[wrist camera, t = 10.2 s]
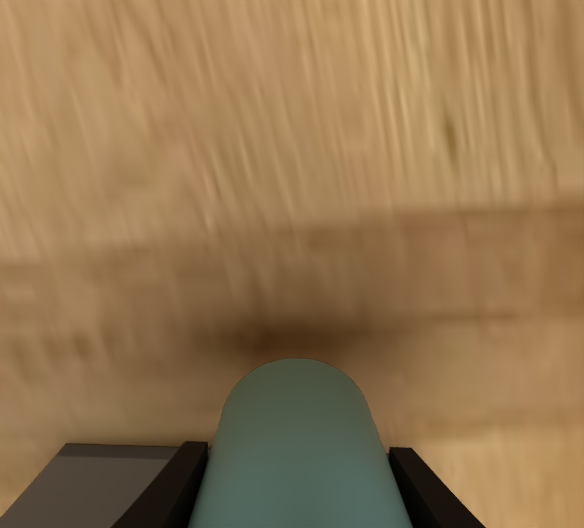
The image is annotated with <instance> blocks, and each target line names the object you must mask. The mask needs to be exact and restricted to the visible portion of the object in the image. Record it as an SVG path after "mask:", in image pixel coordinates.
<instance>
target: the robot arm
mask: <svg viewBox="0 0 584 528" xmlns="http://www.w3.org/2000/svg"><path fill="white" fill-rule="evenodd" d="M207 461H208V442H196V441H185V442H184V443H183V444H182V445H181V446H180V448H179V449H178V450H177V451H176V453H175V454H174V455H173V456H172V458H171V459H170V460H169V461H168V463H167V464H166V465H165V466H164V467H163V469H162V470H161V471H160V472H159V473H158V475H157V476H156V477H155V478H154V479H153V481H152V482H151V483H150V484H149V485H148V486H147V488H146V489H145V490H144V491H143V492H142V493H141V494H140V496H139V497H138V498H137V499H136V500H135V501H134V502H133V503H132V505H131V506H130V507H129V508H128V509H127V510H126V511H125V512H124V513H123V515H122V516H121V517H120V518H119V519H118V520H117V521H116V522H115V523H114V524H113V525H112V526H111V527H110V528H187V527H188V524H189V520H190V517H191V514H192V510H193V507H194V504H195V501H196V497H197V494H198V491H199V487H200V484H201V481H202V478H203V474H204V471H205V468H206V464H207ZM388 461H389V464H390V467H391V469H392V472H393V475H394V478H395V480H396V483H397V486H398V488H399V491H400V494H401V496H402V499H403V502H404V505H405V507H406V510H407V513H408V515H409V518H410V521H411V524H412V526H413V528H486V527H485V526H484V525H483V524H482V523H481V522H480V521H479V520H478V519H477V518H476V517H475V516H474V515H473V514H472V513H471V512H470V511H469V510H468V509H467V508H466V507H465V506H464V505H463V504H462V503H461V502H460V501H459V499H458V498H457V497H456V496H455V495H454V494H453V493H452V492H451V491H450V490H449V489H448V488H447V486H446V485H445V484H444V483H443V482H442V481H441V480H440V479H439V478H438V477H437V475H436V474H435V473H434V472H433V471H432V470H431V469H430V468H429V467H428V465H427V464H426V463H425V462H424V461H423V460H422V459H421V458H420V457H419V455H418V454H417V453H416V452H415V451H414V450H413V449H412V448H401V447H390V450H389V458H388Z"/></svg>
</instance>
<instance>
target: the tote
mask: <svg viewBox="0 0 584 528" xmlns="http://www.w3.org/2000/svg"><path fill="white" fill-rule="evenodd" d="M179 448H180V447H152V446H120V445H88V444H65V446H64V447H63V448H62V449H61V450H60V451H59V452H58V453H57V455H56V456H55V457H54V458H53V459H52V460H51V461H50V462H49V464H48V465H47V466H46V467H45V468H44V469H43V470H42V472H41V473H40V474H39V475H38V476H37V477H36V478H35V479H34V481H33V482H32V483H31V484H30V485H29V486H28V487H27V488H26V490H25V491H24V492H23V493H22V494H21V495H20V496H19V498H18V499H17V500H16V501H15V502H14V503H13V504H12V505H11V507H10V508H9V509H8V510H7V511H6V512H5V513H4V514H3V516H2V517H1V518H0V528H110V527H111V526H112V525H113V524H114V523H115V522H116V521H117V520H118V519H119V518H120V517H121V516H122V515H123V513H124V512H125V511H126V510H127V509H128V508H129V507H130V506H131V505H132V503H133V502H134V501H135V500H136V499H137V498H138V497H139V496H140V494H141V493H142V492H143V491H144V490H145V489H146V488H147V486H148V485H149V484H150V483H151V482H152V481H153V479H154V478H155V477H156V476H157V475H158V473H159V472H160V471H161V470H162V469H163V467H164V466H165V465H166V464H167V463H168V461H169V460H170V459H171V458H172V456H173V455H174V454H175V453H176V451H177V450H178V449H179ZM210 451H211V448H208V458H209V454H210ZM386 456H387V459H388V458H389V454H386Z"/></svg>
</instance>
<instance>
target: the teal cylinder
mask: <svg viewBox="0 0 584 528" xmlns="http://www.w3.org/2000/svg"><path fill="white" fill-rule="evenodd" d="M187 528H413V526H412V524H411V521H410V518H409V515H408V513H407V510H406V507H405V505H404V502H403V499H402V496H401V494H400V491H399V488H398V486H397V483H396V480H395V478H394V475H393V472H392V469H391V467H390V464H389V461H388V459H387V456H386V453H385V450H384V448H383V445H382V442H381V440H380V437H379V434H378V431H377V429H376V426H375V423H374V421H373V418H372V415H371V412H370V410H369V407H368V404H367V402H366V400H365V397H364V395H363V394H362V392H361V390H360V389H359V387H358V386H357V385H356V384H355V383H354V381H353V380H352V379H350V378H349V377H348V376H347V375H346V374H345V373H343V372H342V371H340V370H339V369H337V368H335V367H333V366H331V365H329V364H326V363H323V362H320V361H316V360H312V359H304V358H288V359H281V360H277V361H273V362H269V363H267V364H265V365H262V366H260V367H258V368H256V369H255V370H253V371H251V372H250V373H249V374H247V375H246V376H245V377H243V378H242V379H241V380H240V381H239V382H238V383H237V384H236V386H235V387H234V388H233V390H232V391H231V393H230V394H229V396H228V398H227V400H226V403H225V405H224V408H223V412H222V415H221V418H220V421H219V425H218V428H217V431H216V435H215V438H214V441H213V445H212V448H211V451H210V454H209V458H208V461H207V464H206V468H205V471H204V474H203V478H202V481H201V484H200V487H199V491H198V494H197V497H196V501H195V504H194V507H193V510H192V514H191V517H190V520H189V524H188V527H187Z"/></svg>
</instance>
